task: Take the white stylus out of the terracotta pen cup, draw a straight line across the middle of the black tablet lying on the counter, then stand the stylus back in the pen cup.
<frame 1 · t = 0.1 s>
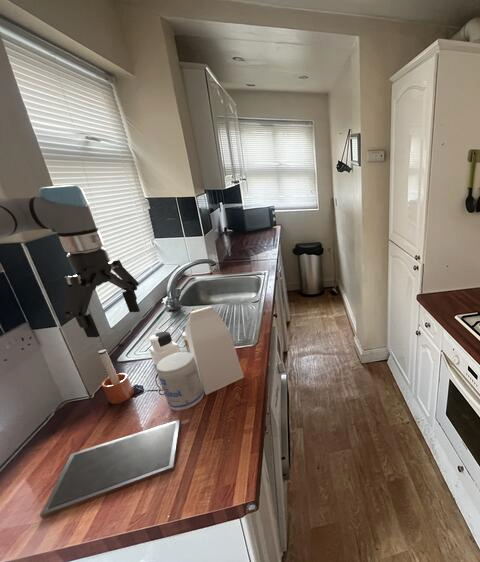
hand: (115, 323, 85), 27 cm above the worktop, tool pointing down, fingers open, 13 cm apart
medicine bottle: (169, 363, 113), on the worktop
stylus: (122, 396, 96), resting on pen cup
supplement tub: (187, 400, 95), on the worktop
tablet: (122, 463, 75), on the worktop
sprinkles bottle: (198, 364, 111), on the worktop
milk: (220, 377, 104), on the worktop
pen cup: (122, 397, 97), on the worktop
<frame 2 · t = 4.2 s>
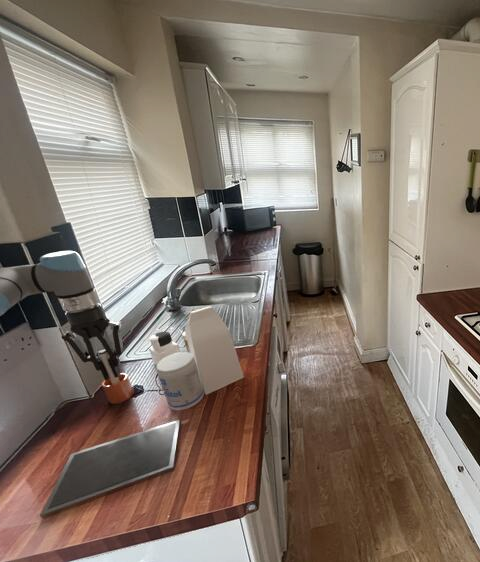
hand: (113, 375, 93), 8 cm above the worktop, tool pointing down, fingers closed on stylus, 2 cm apart
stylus: (122, 396, 96), point 1 cm above the worktop, touching gripper, pen cup
everything else where it was.
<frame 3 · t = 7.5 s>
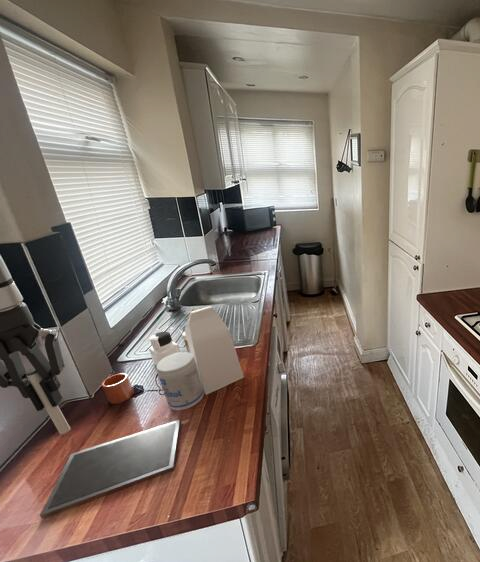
hand: (50, 404, 67), 20 cm above the worktop, tool pointing down, fingers closed on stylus, 2 cm apart
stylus: (65, 431, 70), point 12 cm above the worktop, touching gripper
everything else where it was.
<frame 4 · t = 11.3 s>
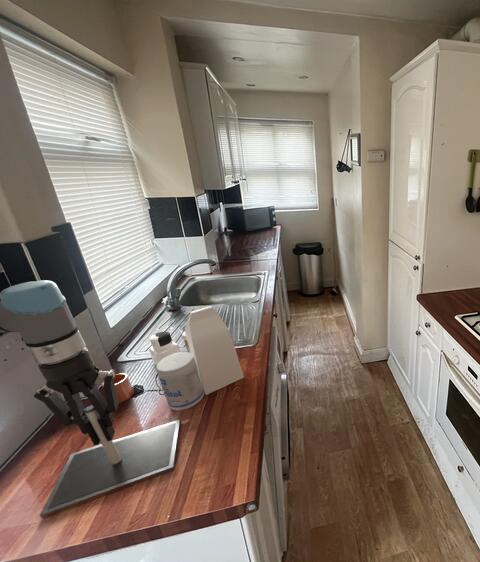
hand: (104, 438, 72), 9 cm above the worktop, tool pointing down, fingers closed on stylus, 2 cm apart
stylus: (116, 461, 75), point 1 cm above the worktop, touching gripper
everything else where it was.
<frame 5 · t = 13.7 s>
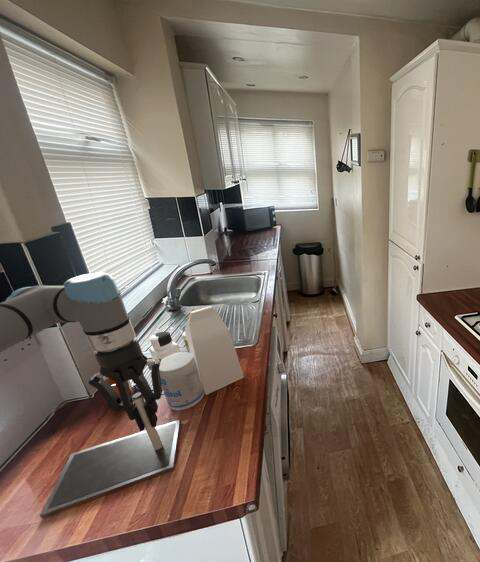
hand: (149, 424, 75), 9 cm above the worktop, tool pointing down, fingers closed on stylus, 2 cm apart
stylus: (158, 446, 78), point 1 cm above the worktop, touching gripper, tablet
everything else where it was.
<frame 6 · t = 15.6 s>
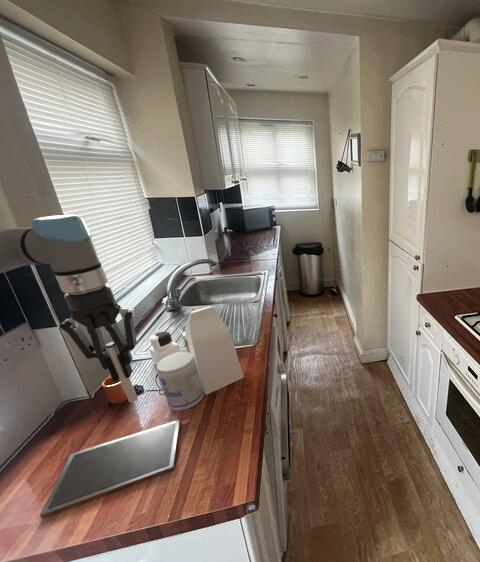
hand: (123, 375, 75), 20 cm above the worktop, tool pointing down, fingers closed on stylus, 2 cm apart
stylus: (133, 399, 78), point 12 cm above the worktop, touching gripper
everything else where it was.
when the fingers open (8 cm above the worktop, at t = 20.3 s): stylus stays where it is, resting on pen cup.
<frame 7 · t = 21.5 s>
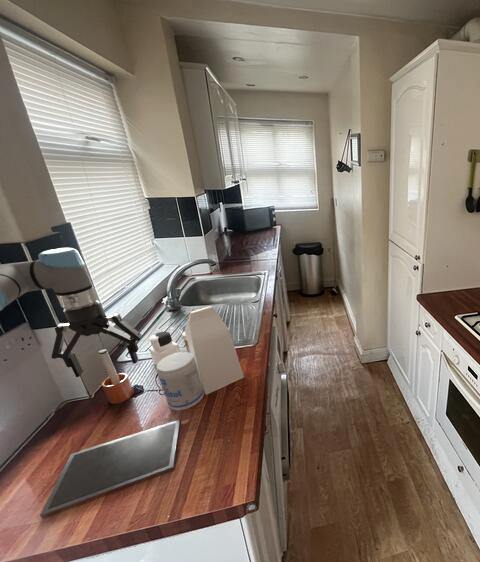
hand: (108, 367, 92), 12 cm above the worktop, tool pointing down, fingers open, 13 cm apart
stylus: (122, 395, 96), resting on pen cup
everything else where it was.
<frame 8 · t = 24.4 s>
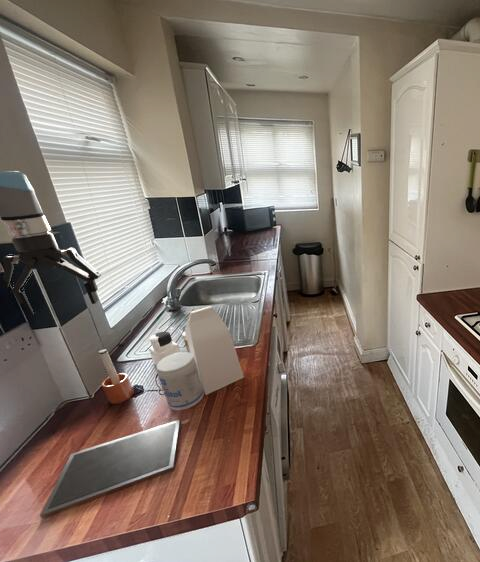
hand: (65, 307, 88), 31 cm above the worktop, tool pointing down, fingers open, 13 cm apart
nothing on the worktop moved.
at the end: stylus 0.1 cm off-centre in the pen cup, point 0.5 cm above the pen cup's base; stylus tilted 0°; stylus touching pen cup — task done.
